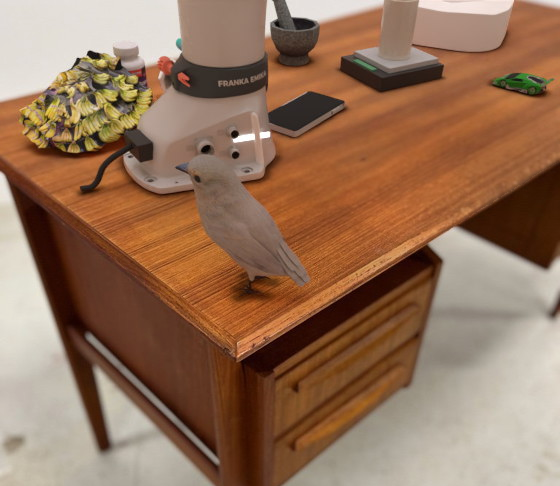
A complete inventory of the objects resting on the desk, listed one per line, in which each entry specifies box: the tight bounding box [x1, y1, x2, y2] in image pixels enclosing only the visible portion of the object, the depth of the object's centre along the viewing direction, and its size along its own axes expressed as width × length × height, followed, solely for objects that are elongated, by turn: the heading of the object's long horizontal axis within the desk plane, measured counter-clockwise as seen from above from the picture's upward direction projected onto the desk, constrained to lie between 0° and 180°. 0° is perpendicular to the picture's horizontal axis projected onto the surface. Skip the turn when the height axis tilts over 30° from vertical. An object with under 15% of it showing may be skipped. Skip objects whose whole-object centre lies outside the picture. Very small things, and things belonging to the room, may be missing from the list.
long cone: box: [157, 56, 177, 94], centre depth 106 cm, size 6×6×19 cm
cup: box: [377, 0, 419, 61], centre depth 106 cm, size 6×6×10 cm
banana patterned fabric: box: [18, 49, 154, 154], centre depth 86 cm, size 20×16×7 cm
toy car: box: [491, 72, 555, 96], centre depth 106 cm, size 10×5×2 cm, turn 52°
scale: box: [339, 46, 445, 93], centre depth 111 cm, size 15×13×4 cm
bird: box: [175, 154, 311, 298], centre depth 57 cm, size 5×14×15 cm, turn 72°
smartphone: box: [268, 90, 346, 138], centre depth 96 cm, size 8×1×15 cm
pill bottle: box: [112, 40, 149, 87], centre depth 95 cm, size 5×5×10 cm
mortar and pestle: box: [269, 0, 321, 67], centre depth 113 cm, size 11×9×12 cm
